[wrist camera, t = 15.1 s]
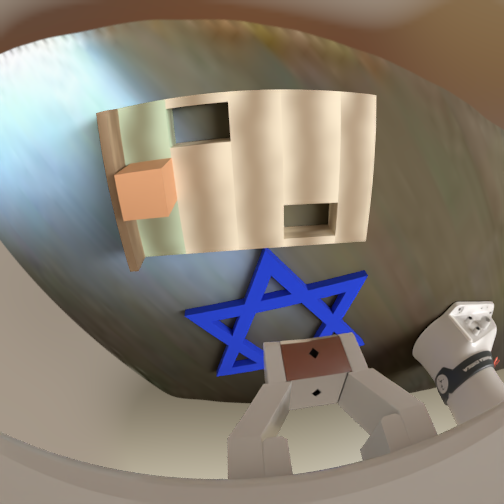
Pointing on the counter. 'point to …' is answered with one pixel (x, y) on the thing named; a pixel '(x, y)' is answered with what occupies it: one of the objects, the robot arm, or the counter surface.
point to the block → (146, 189)
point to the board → (248, 170)
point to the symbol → (262, 302)
